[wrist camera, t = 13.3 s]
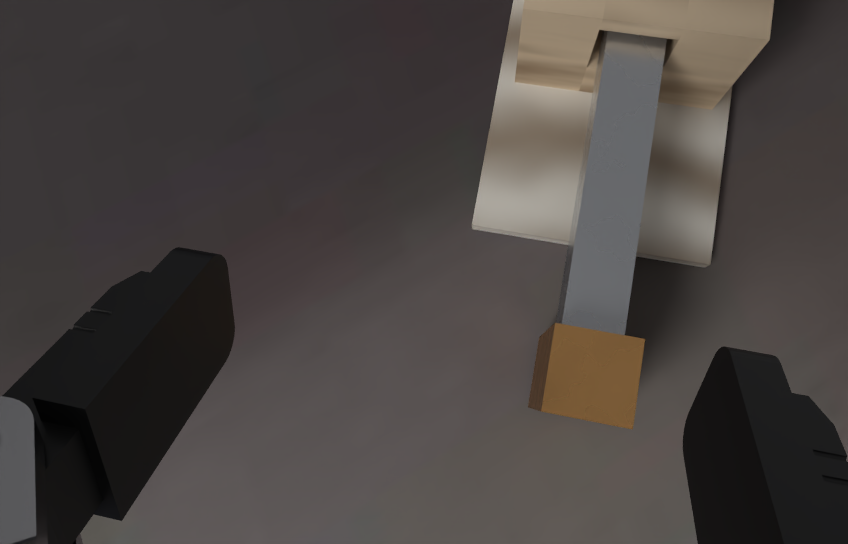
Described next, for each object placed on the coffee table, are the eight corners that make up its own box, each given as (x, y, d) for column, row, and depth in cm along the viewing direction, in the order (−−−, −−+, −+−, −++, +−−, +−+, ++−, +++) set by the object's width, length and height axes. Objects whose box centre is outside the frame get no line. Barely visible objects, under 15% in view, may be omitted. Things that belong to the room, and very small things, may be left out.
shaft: (599, 421, 36) (632, 429, 29) (527, 407, 37) (541, 411, 29) (654, 43, 40) (697, -42, 32) (588, 35, 41) (615, -51, 33)
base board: (704, 267, 39) (710, 264, 38) (472, 228, 40) (471, 224, 40) (748, -88, 43) (755, -99, 42) (534, -111, 44) (536, -122, 43)
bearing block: (706, 116, 41) (769, 39, 32) (513, 89, 42) (522, 8, 33) (719, 14, 42) (784, -88, 33) (531, -9, 43) (545, -113, 34)
